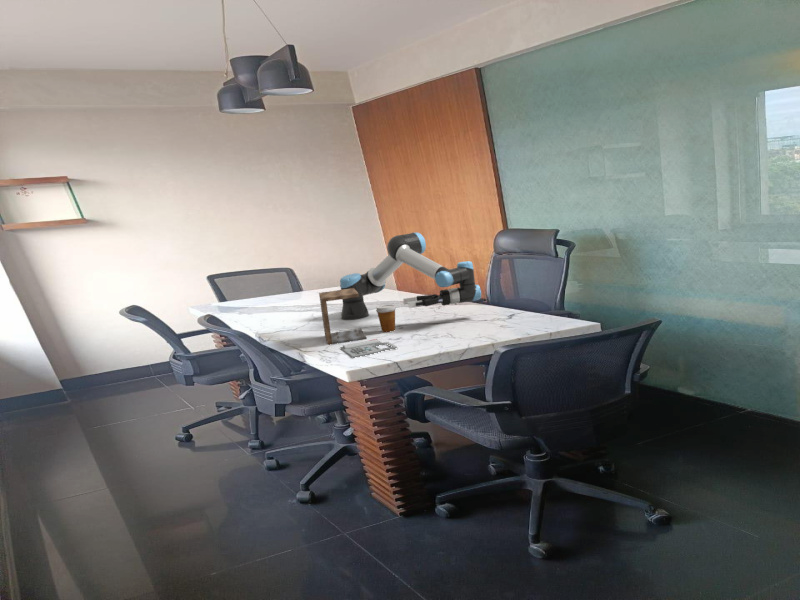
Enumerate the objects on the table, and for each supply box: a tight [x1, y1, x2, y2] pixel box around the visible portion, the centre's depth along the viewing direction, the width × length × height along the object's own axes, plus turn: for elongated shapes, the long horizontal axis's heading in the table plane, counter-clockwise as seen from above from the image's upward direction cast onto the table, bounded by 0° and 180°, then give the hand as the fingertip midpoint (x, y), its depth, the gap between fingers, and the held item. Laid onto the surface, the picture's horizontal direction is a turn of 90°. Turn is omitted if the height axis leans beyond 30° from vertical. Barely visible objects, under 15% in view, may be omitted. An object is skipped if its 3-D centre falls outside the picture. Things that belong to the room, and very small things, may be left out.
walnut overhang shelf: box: [318, 288, 368, 346], centre depth 319 cm, size 18×22×22 cm
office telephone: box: [339, 338, 398, 359], centre depth 291 cm, size 23×3×20 cm
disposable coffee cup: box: [375, 304, 396, 333], centre depth 323 cm, size 10×10×12 cm
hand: (406, 303), depth 324 cm, fingers open, 13 cm apart
